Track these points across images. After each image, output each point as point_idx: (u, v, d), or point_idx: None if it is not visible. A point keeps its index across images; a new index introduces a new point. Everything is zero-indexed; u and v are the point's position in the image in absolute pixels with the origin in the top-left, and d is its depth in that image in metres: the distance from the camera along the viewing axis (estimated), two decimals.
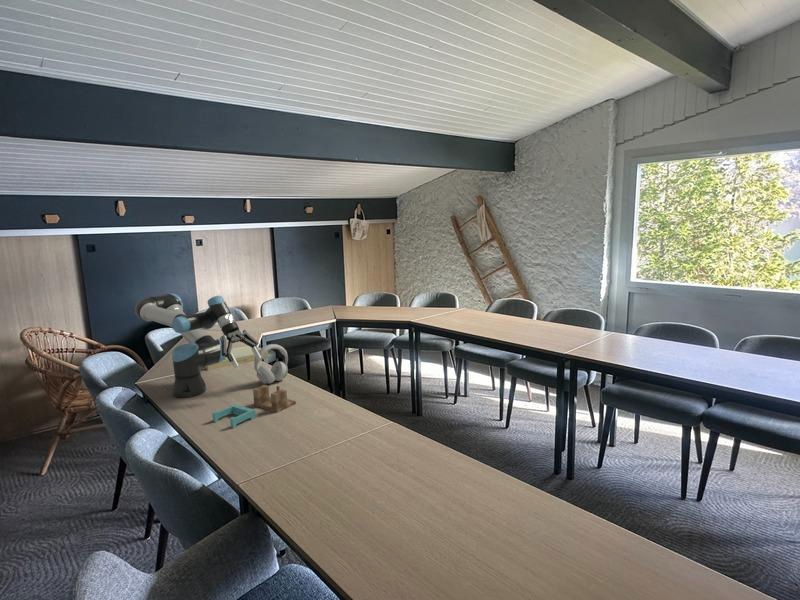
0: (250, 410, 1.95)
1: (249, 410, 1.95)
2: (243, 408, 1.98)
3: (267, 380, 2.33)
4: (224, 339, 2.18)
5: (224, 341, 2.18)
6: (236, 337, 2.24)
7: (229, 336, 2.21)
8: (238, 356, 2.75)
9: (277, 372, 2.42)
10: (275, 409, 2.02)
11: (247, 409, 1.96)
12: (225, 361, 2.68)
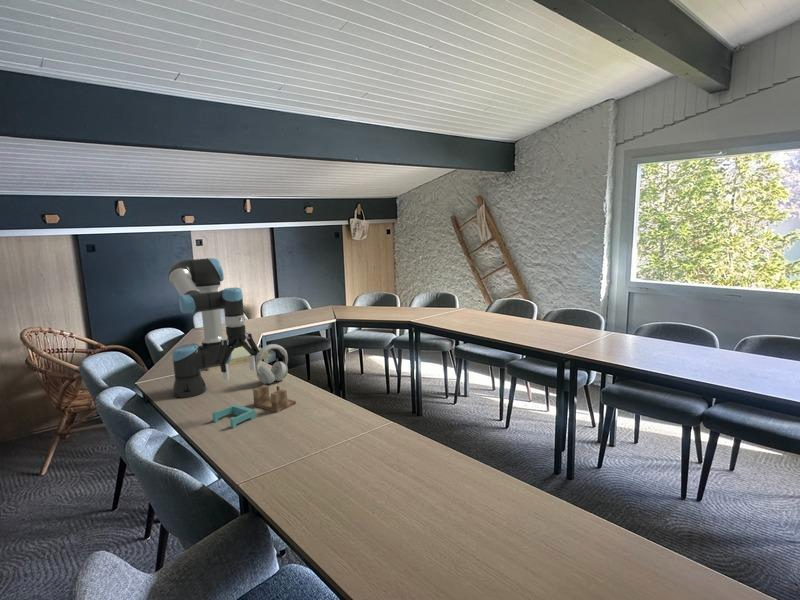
0: (250, 410, 1.95)
1: (249, 410, 1.95)
2: (243, 408, 1.98)
3: (267, 380, 2.33)
4: (225, 345, 1.87)
5: (224, 348, 1.87)
6: (238, 343, 1.93)
7: (231, 341, 1.90)
8: (238, 356, 2.74)
9: (277, 372, 2.42)
10: (275, 409, 2.02)
11: (247, 409, 1.96)
12: None
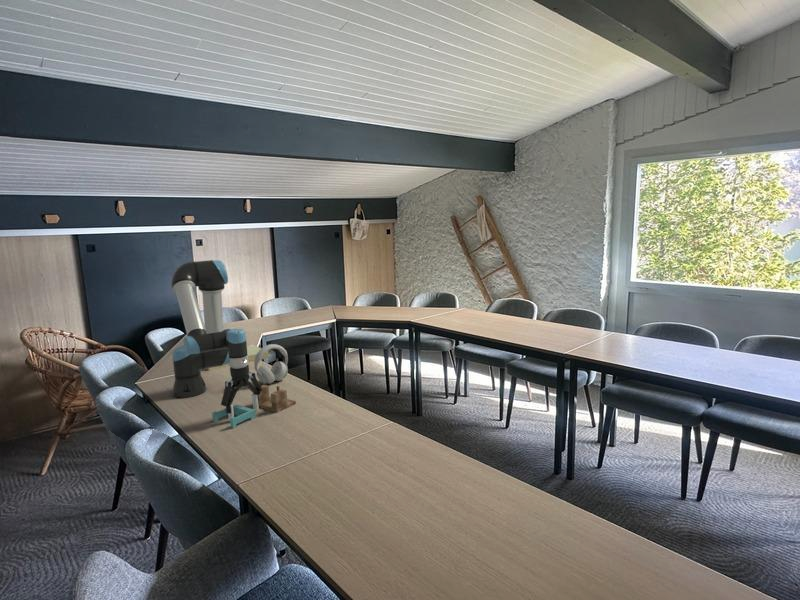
0: (250, 410, 1.95)
1: (249, 410, 1.95)
2: (243, 408, 1.98)
3: (267, 380, 2.33)
4: (229, 387, 1.90)
5: (229, 390, 1.90)
6: (242, 383, 1.96)
7: (236, 382, 1.93)
8: None
9: (277, 372, 2.42)
10: (275, 409, 2.02)
11: (247, 409, 1.96)
12: None
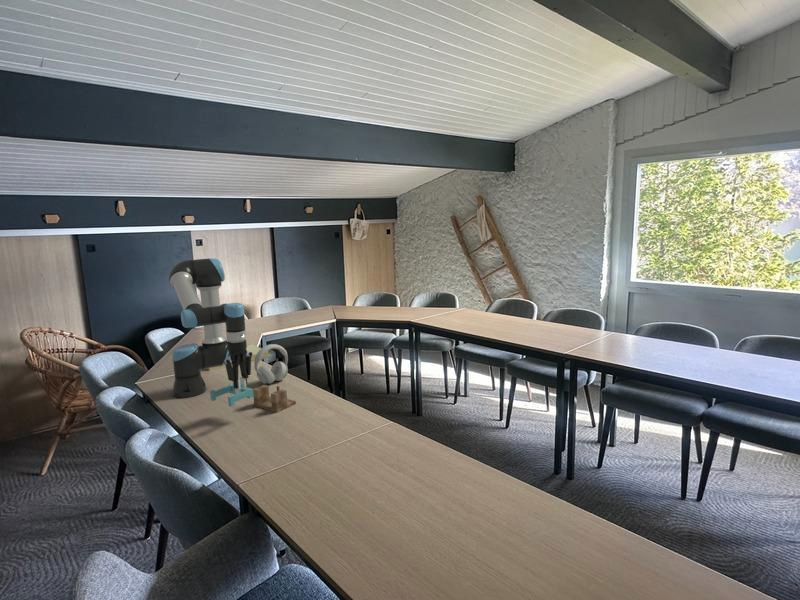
0: (248, 389, 1.94)
1: (247, 389, 1.94)
2: (241, 387, 1.96)
3: (267, 380, 2.33)
4: (229, 364, 1.90)
5: (230, 366, 1.90)
6: (239, 358, 1.94)
7: (233, 357, 1.91)
8: None
9: (277, 372, 2.42)
10: (275, 409, 2.02)
11: (245, 388, 1.95)
12: None
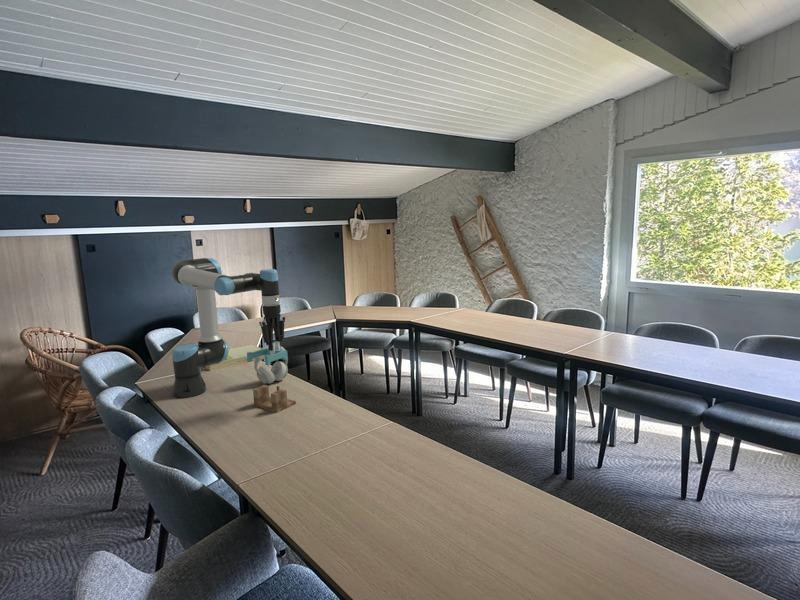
0: (282, 351, 2.04)
1: (282, 351, 2.04)
2: (275, 349, 2.07)
3: (267, 380, 2.33)
4: (265, 326, 2.00)
5: (265, 329, 2.01)
6: (274, 321, 2.05)
7: (268, 320, 2.02)
8: (239, 356, 2.74)
9: (277, 372, 2.42)
10: (275, 409, 2.02)
11: (279, 350, 2.05)
12: (227, 361, 2.67)
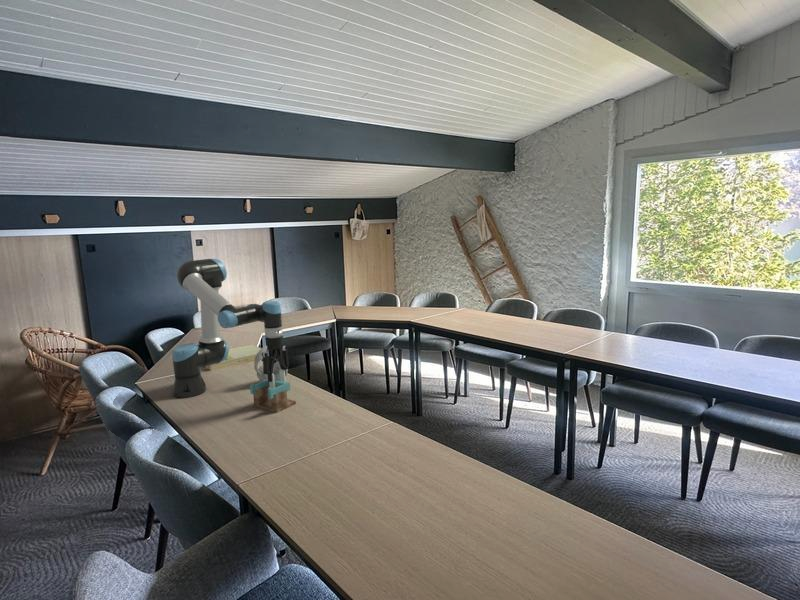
0: (285, 383, 2.07)
1: (284, 383, 2.07)
2: (278, 381, 2.09)
3: None
4: (267, 357, 2.02)
5: (267, 360, 2.03)
6: (277, 353, 2.07)
7: (271, 351, 2.04)
8: (240, 356, 2.74)
9: (277, 372, 2.42)
10: (275, 409, 2.02)
11: (282, 382, 2.08)
12: (227, 361, 2.67)
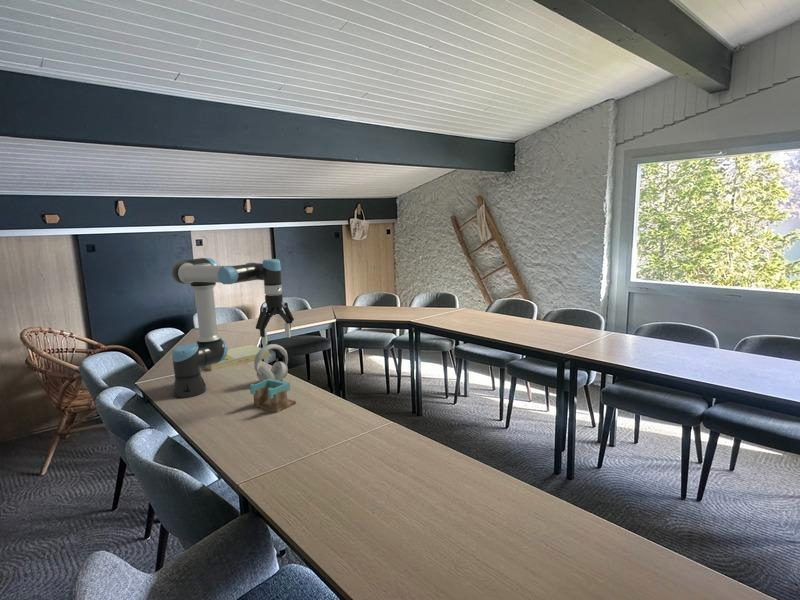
0: (285, 383, 2.07)
1: (284, 383, 2.07)
2: (278, 381, 2.09)
3: None
4: (264, 312, 2.02)
5: (264, 314, 2.02)
6: (276, 311, 2.07)
7: (270, 309, 2.04)
8: (240, 356, 2.74)
9: (277, 372, 2.42)
10: (275, 409, 2.02)
11: (282, 382, 2.08)
12: (228, 361, 2.67)
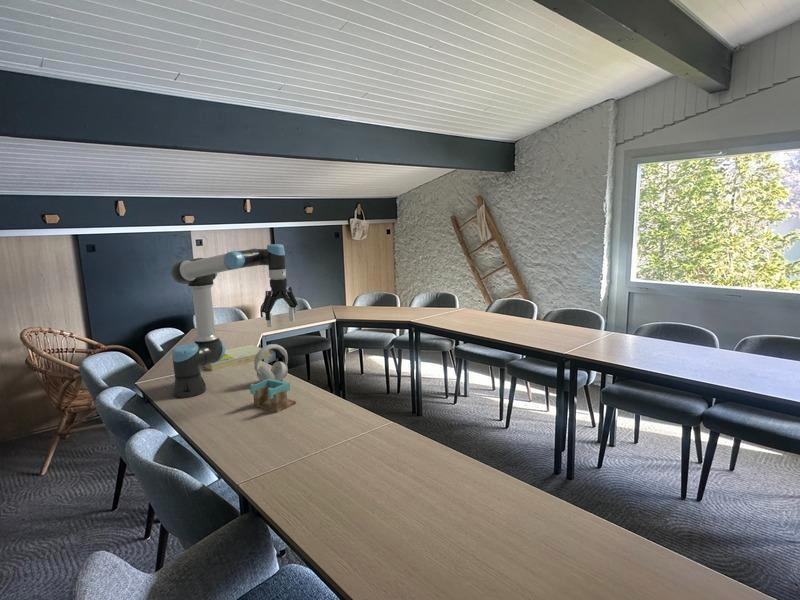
0: (285, 383, 2.07)
1: (284, 383, 2.07)
2: (278, 381, 2.09)
3: None
4: (269, 296, 2.07)
5: (269, 298, 2.06)
6: (280, 295, 2.12)
7: (275, 293, 2.09)
8: (240, 356, 2.74)
9: (277, 372, 2.42)
10: (275, 409, 2.02)
11: (282, 382, 2.08)
12: (228, 361, 2.67)
